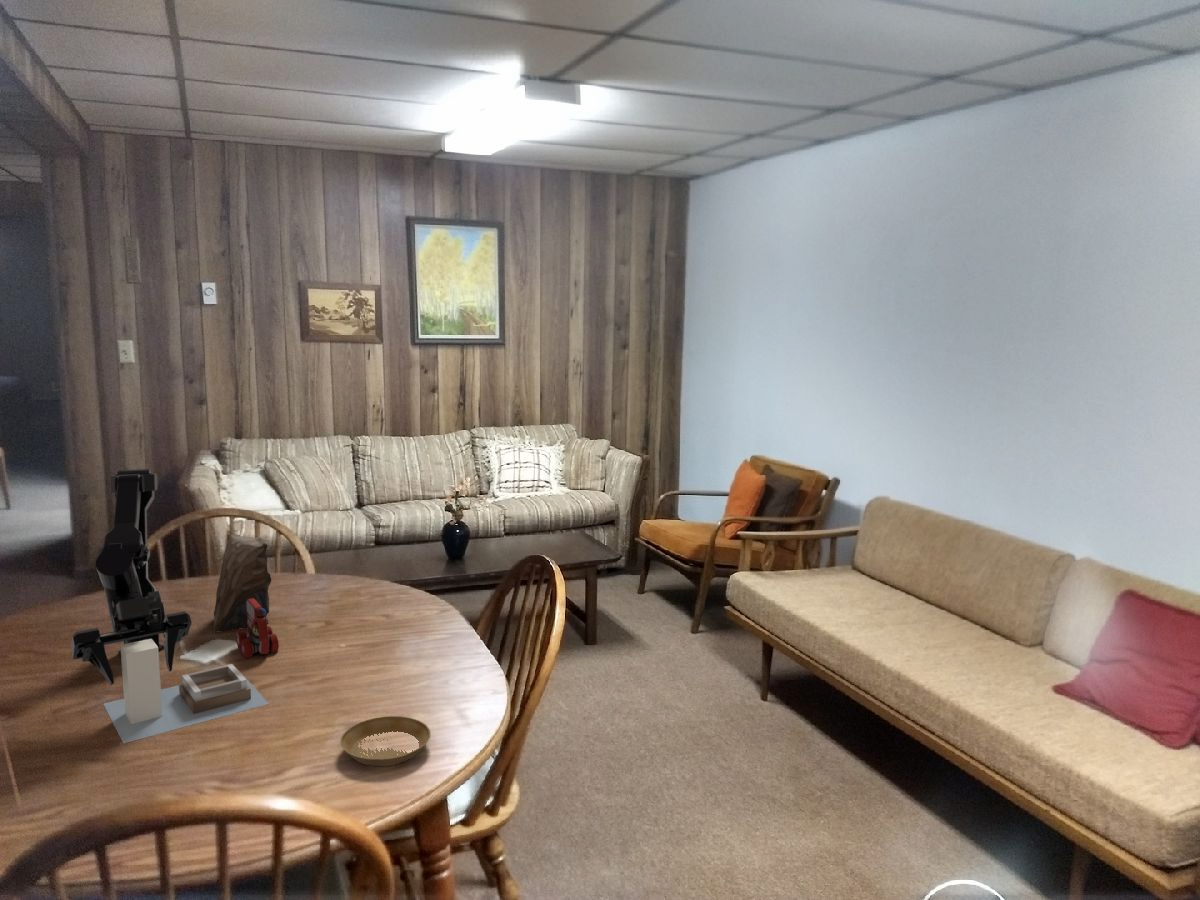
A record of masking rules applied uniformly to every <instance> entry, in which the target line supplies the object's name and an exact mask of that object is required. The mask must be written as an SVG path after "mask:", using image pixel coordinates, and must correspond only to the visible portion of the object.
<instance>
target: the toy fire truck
mask: <svg viewBox="0 0 1200 900" xmlns="http://www.w3.org/2000/svg"><path fill="white" fill-rule="evenodd" d="M265 615H266V610H265V609H264V608H262V607H261V606H260V605H259V603H258V602H257V601H256V600H255V599H254V598H252V599H248V600H247V628H246V629H247V630H246V631H247V632H246V631H245V630H237V632H236V633H235V635H236V636H235V641H236V647H237V649H238V651H239V650H241V654H242V656H243V658H244V659H248V658H252V657H253V654H256V653H259V654H261V655H266V654H269V652H270V653H271V654H272V653H276V652H277V653H278V651H279V647H280V645H279V638H278V636H277V634H276V633H273V628H272V627H271V626H269V625H268V624H267V621H266V618H267V617H266V618H265V617H264V616H265ZM266 616H267V615H266Z"/></svg>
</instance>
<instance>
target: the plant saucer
mask: <svg viewBox="0 0 1200 900" xmlns="http://www.w3.org/2000/svg"><path fill="white" fill-rule="evenodd" d="M392 731H393V732H397V731H398V732H404V733H408V734H410V735H412V736H414V737H415V738H416V739H417V740H418V741H419V742H418V743H419V748H418V749H416V750H414V751H413V750H412V752H410V753H407V752H406V751H405V750H404V751H405V753H404V752H403V751H402V750H401V752H400V751H399V750H398V752H397V751H396V750H395V751H394V750H393V749H392V748H391V750H390V749H389V748H387V751H386V750H385V749H384V751H383V750H382V748H381V750H380V752H379V751H378V750H377V748H376V750H375V751H376V753H375V752H374V751H373V750H372V751H371V750H370V749H369V748H368V753H367V751H366V750H365V749H364V750H363V749H362V748H361V746H360V748H359V747H358V745H359V743H360V745H362V744H361V743H362V741H361V740H363V739H364V738H366V737H367V736H369V737H370V736H371V735H373V736H374V734H377V735H378V734H379V733H380V734H382V733H383V732H384V733H386V732H387V733H388V732H392ZM378 736H379V735H378ZM430 738H431V728H429V726H428V725H427V724H426V723H424V722H422V721H420V720H419V719H415V718H412V717H407V716H400V715H398V716H397V715H393V716H392V715H390V716H386V715H385V716H379V717H378V716H377V717H374V718H369V719H365V720H363V721H360V722H358V723H355V724H354V725H352V726H350V727H349V728H348V729H346V730H345V731H344V732H343V734H342V735H341V737H340V746H341V748H342V749H343V751H344V752H346V754H347V755H349V756H350V757H351V758H352V759H354V760H355V761H356V762H358V763H360V764H363V765H367V766H370V767H389V766H396V765H398V763H399V764H401V763H405V762H406V760H407V761H408V759H409V760H410V759H411V758H412V759H413V757H415V756H416V755H417V754H418V753H419V752H420V751H422V749H423V748H424V747H425V746H426V745H427V743H428V742H429V740H430ZM369 740H370V739H369ZM376 740H377V739H376ZM383 740H384V739H383ZM364 741H366V740H365V739H364ZM372 741H373V740H372ZM377 741H378V740H377ZM387 741H388V740H387ZM358 742H359V743H358ZM368 742H369V741H368ZM380 742H381V741H380ZM364 743H365V742H364ZM360 752H361V753H360ZM363 752H364V753H365V755H364V754H363ZM371 753H372V755H373V756H372V755H371ZM366 754H368V756H369V757H368V756H367V755H366ZM397 754H398V755H397ZM361 756H362V757H361Z"/></svg>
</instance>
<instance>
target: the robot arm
mask: <svg viewBox="0 0 1200 900" xmlns="http://www.w3.org/2000/svg"><path fill="white" fill-rule="evenodd" d="M109 483H110V484H109V486H110V487H109V489H110V491H109V492H110V494H115V504H114V505H115V507H114V515H113V516H114V517H113V527H112V528H111V530H109V531H108V532H107V533H106V534H105V536H104V540H103V545H102V546H101V547H100V548H99V550H98V552H97V556H96V560H95V568H96V571H97V573H98V576H99V580H100V581H101V584H102V586H103V589H104V594H105V598H106V604H107V609H108V613H109V617H110V618H109V619H110V621H111V622H110V623H111V628H112V632H105V633H102V634H100V630H99V628H98V627H96V628H90V629H83V630H78V631H75V632H74V633H73V635H72V636H71V643H70V651H71V652H70V653H71V656H72V657H71V658H72V659H73V660H80V659H81V661H82V662H83V663H85V662H89V663H90V664H91V665H93V666H94V667H95V668H96V669H97V670H98V671H99V672H100V674H101V675H102V676H103V677H104V678H105V680H106V681H107V682H108V683H109V684H110V685H111V686H113V685H114V684H115V680H114V675H113V671H112V669H111V665H110V662H109V659H108V657H107V653H106V649H105V645H110V644H115V643H121V642H123V644H128V643H132V642H137V641H142V640H147V639H152V640H153V641H154V642H155V644H156V645H157V646H158V651H161V650H163V649H164V656H165V662H166V668H167V670H168V673H169V672H172V670H173V664H174V658H175V657H174V656H175V648H176V644H177V643H181V641H182V639H183V638H185V637H187V636H189V635H188V634H189V632H190V629H191V626H192V623H193V622H192V618H191V615H190V614H189V613H188V612H187V611H185V610H184V611H179V612H175V613H168V614H166V613H165V612H166V611H165V605H164V602H163V601H162V597H161V595H160V594H161V593H160V591H159V590H157V588H156V586H154V584H153V583H152V581H151V580H150V579H149V562H148V561H149V559H150V557H151V551H150V549H149V547H148V515H147V513H148V512H147V511H148V509H149V508H150V506H151V505H152V503H153V501H154V499H155V492H156V491H157V490H158V483H159V482H158V474H157V473H152V471H151V469H150V468H145V469H143V468H142V469H141V468H140V469H139V468H138V469H122V470H121V469H120V470H119V469H118V471H117V474H115V475H114V474H113V475H109ZM160 634H162V635H163V638H164V640H163V644H160V636H159V635H160ZM117 654H118V655H121V649H120V650H118V651H117Z"/></svg>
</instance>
